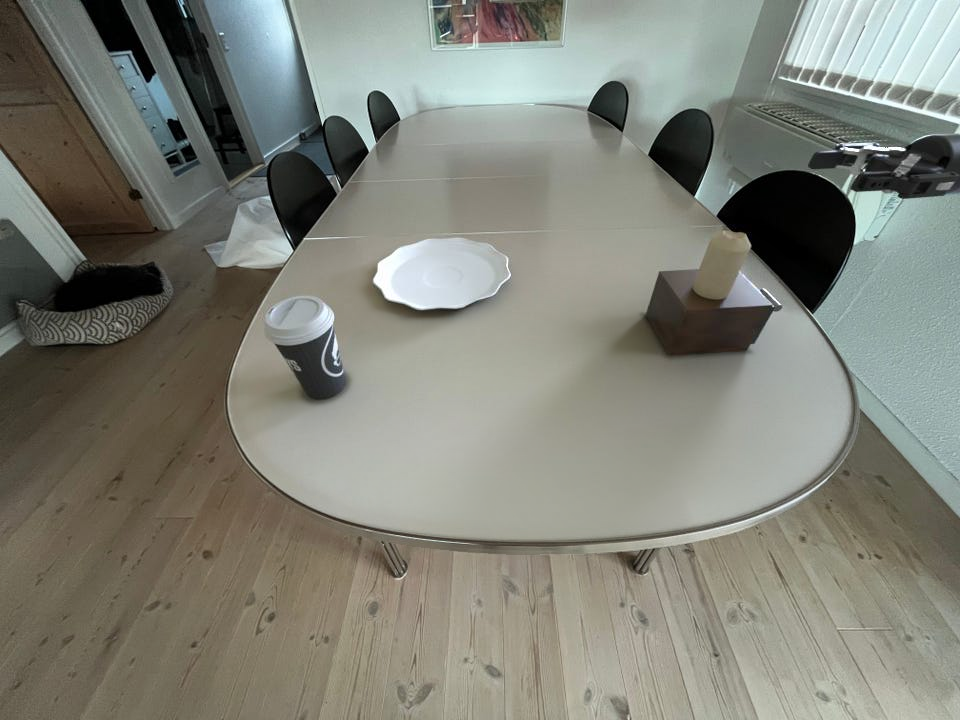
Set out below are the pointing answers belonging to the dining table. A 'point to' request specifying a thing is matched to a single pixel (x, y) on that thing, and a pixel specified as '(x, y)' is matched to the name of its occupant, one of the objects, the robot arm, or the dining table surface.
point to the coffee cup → (307, 344)
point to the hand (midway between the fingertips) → (832, 170)
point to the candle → (721, 264)
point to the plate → (441, 274)
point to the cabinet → (704, 315)
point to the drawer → (775, 308)
